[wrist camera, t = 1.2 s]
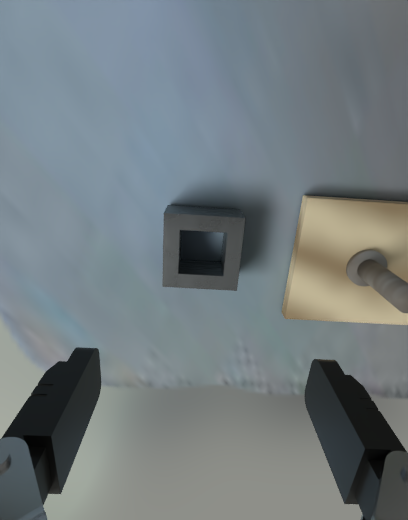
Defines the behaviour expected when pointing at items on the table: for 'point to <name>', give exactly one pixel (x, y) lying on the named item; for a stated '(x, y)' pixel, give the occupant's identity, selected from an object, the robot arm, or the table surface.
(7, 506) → the robot arm
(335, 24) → the table surface
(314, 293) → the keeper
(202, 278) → the link
